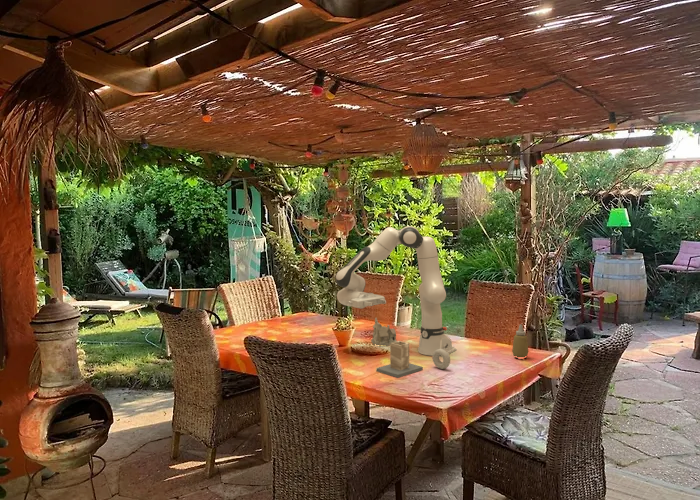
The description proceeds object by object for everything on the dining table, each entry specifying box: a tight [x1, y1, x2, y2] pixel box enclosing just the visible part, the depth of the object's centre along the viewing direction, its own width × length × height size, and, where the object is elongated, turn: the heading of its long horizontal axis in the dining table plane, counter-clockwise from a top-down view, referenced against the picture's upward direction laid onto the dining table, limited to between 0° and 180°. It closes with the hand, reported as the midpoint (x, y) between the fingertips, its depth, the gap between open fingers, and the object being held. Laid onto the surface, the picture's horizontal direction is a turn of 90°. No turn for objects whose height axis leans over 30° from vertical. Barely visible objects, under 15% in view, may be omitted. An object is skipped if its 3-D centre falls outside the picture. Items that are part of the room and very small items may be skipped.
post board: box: [375, 362, 424, 379], centre depth 249 cm, size 18×14×10 cm
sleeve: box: [389, 340, 410, 370], centre depth 249 cm, size 6×6×12 cm
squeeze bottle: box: [511, 324, 529, 357], centre depth 269 cm, size 8×8×18 cm
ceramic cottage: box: [370, 317, 398, 347], centre depth 303 cm, size 16×16×15 cm
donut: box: [432, 349, 451, 370], centre depth 252 cm, size 10×4×10 cm, turn 43°
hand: (378, 303), depth 265 cm, fingers open, 8 cm apart
